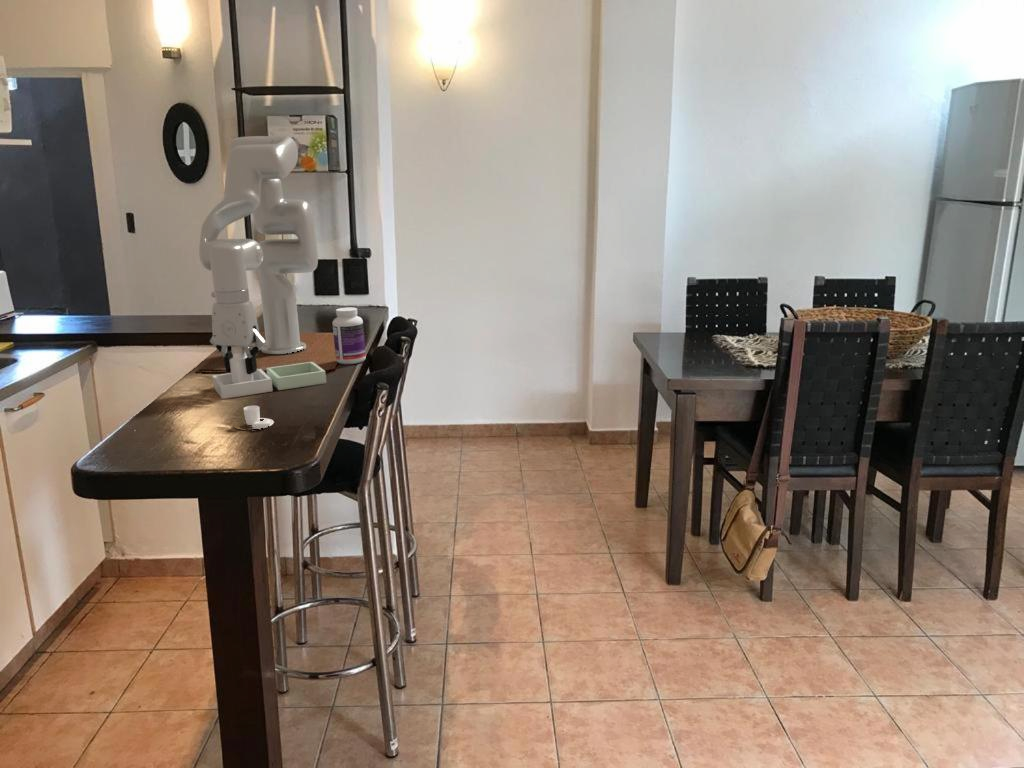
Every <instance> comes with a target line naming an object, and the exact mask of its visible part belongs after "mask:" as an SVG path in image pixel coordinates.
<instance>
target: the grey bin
mask: <svg viewBox="0 0 1024 768" xmlns="http://www.w3.org/2000/svg"><path fill="white" fill-rule="evenodd" d="M211 378H212V386H213V389H214V390H215V392H216V393H217V394H218V395H219V397H220V399H221V400H223V399H230V398H238V397H242V396H243V397H244V396H249V395H250V396H251V395H256V394H263V393H269V392H273V390H274V389H273V388H274V387H273V384H272V379H271V378H270V377H269V376H268V375H267V372H265V371H264V370H263V369H261V368H259V369H258V368H257V371H256V372H254V373H253V381H249V382H242V383H235V384H234V383H233V382H232V377H231V372H230V373H227V372H226V373H221V374H213V375H211Z"/></svg>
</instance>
